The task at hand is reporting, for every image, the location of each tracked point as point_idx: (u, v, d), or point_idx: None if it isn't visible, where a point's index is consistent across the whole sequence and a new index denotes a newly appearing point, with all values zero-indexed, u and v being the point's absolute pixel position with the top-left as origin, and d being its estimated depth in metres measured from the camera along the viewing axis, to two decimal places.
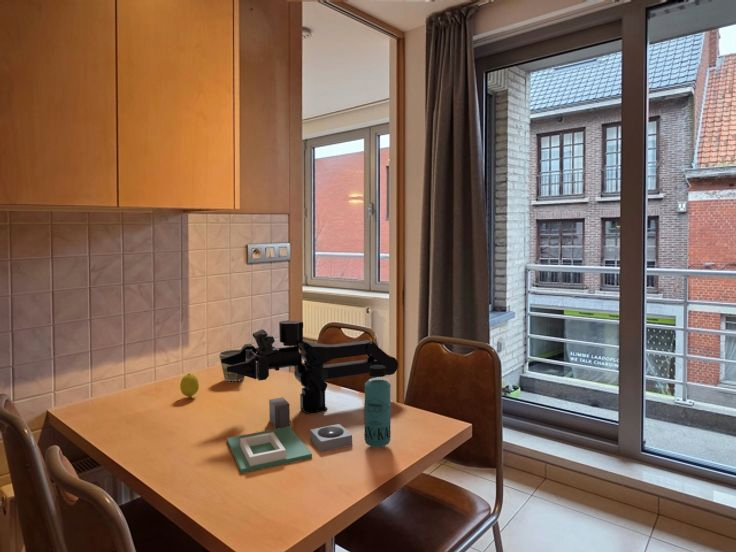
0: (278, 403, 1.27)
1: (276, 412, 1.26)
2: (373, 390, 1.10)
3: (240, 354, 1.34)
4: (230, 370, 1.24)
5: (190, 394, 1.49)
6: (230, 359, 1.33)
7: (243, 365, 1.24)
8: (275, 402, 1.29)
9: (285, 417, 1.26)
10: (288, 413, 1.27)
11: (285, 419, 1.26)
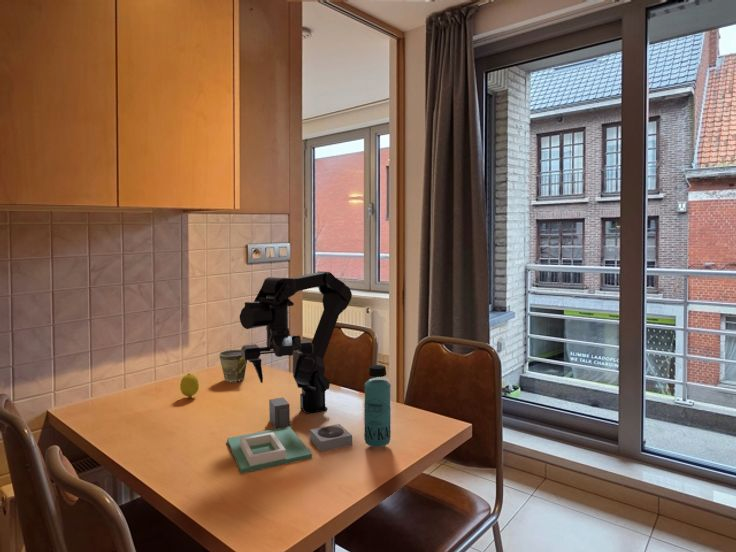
0: (278, 403, 1.27)
1: (276, 412, 1.26)
2: (373, 390, 1.10)
3: (260, 363, 1.25)
4: None
5: (190, 394, 1.49)
6: None
7: None
8: (275, 402, 1.29)
9: (285, 417, 1.26)
10: (288, 413, 1.27)
11: (285, 419, 1.26)
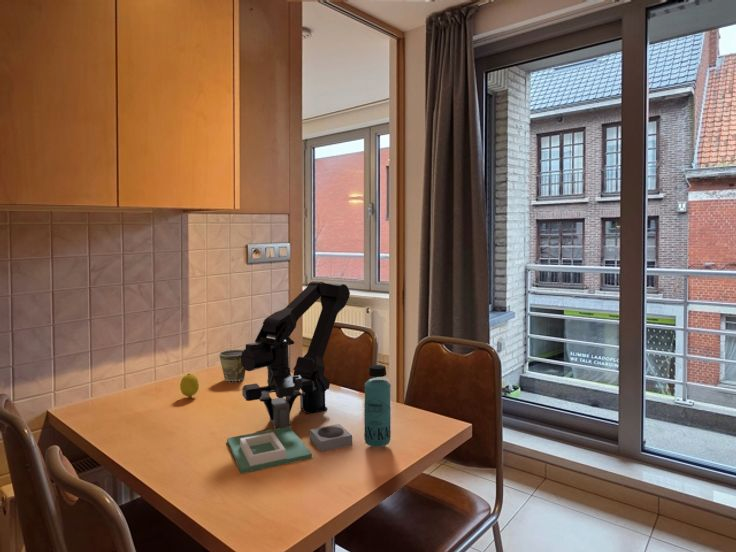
0: (278, 403, 1.27)
1: (276, 412, 1.26)
2: (373, 390, 1.10)
3: None
4: None
5: (190, 394, 1.49)
6: None
7: None
8: (275, 402, 1.29)
9: (285, 417, 1.26)
10: (288, 413, 1.27)
11: (285, 419, 1.26)
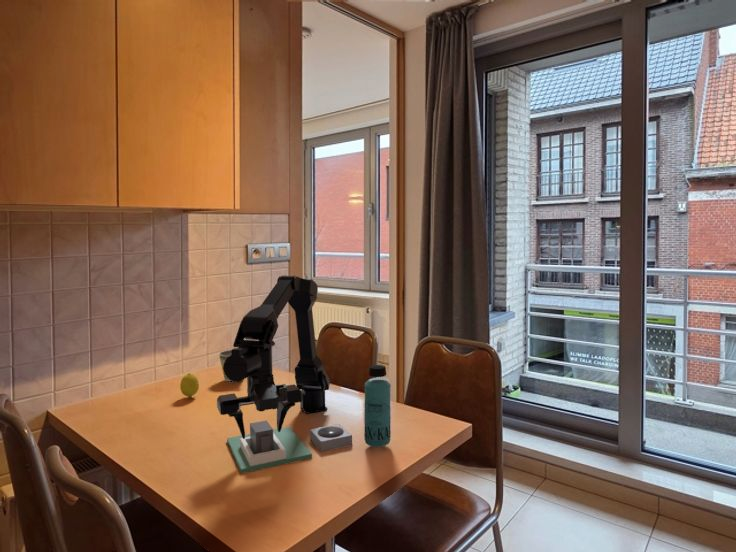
0: (259, 429, 1.08)
1: (257, 439, 1.06)
2: (373, 390, 1.10)
3: None
4: None
5: (190, 394, 1.49)
6: None
7: None
8: (257, 426, 1.09)
9: (268, 445, 1.06)
10: (272, 440, 1.08)
11: (268, 448, 1.06)
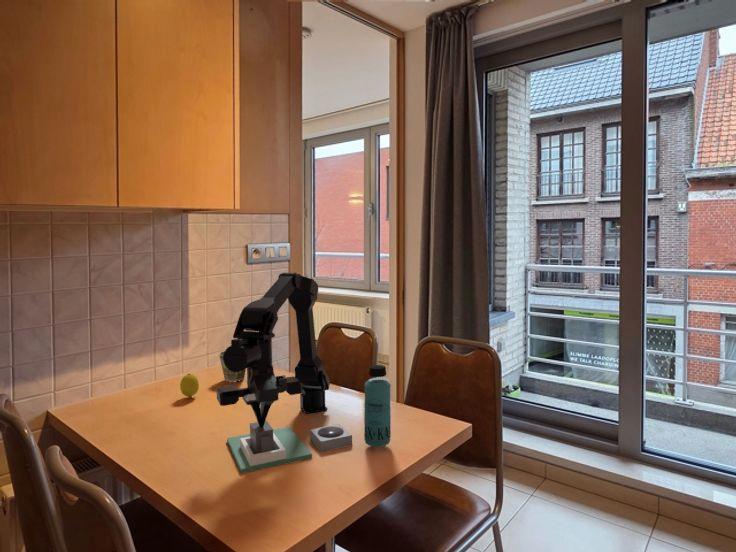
0: (259, 429, 1.08)
1: (257, 439, 1.06)
2: (373, 390, 1.10)
3: (259, 405, 1.08)
4: None
5: (190, 394, 1.49)
6: None
7: None
8: (257, 426, 1.09)
9: (268, 445, 1.06)
10: (272, 440, 1.08)
11: (268, 448, 1.06)
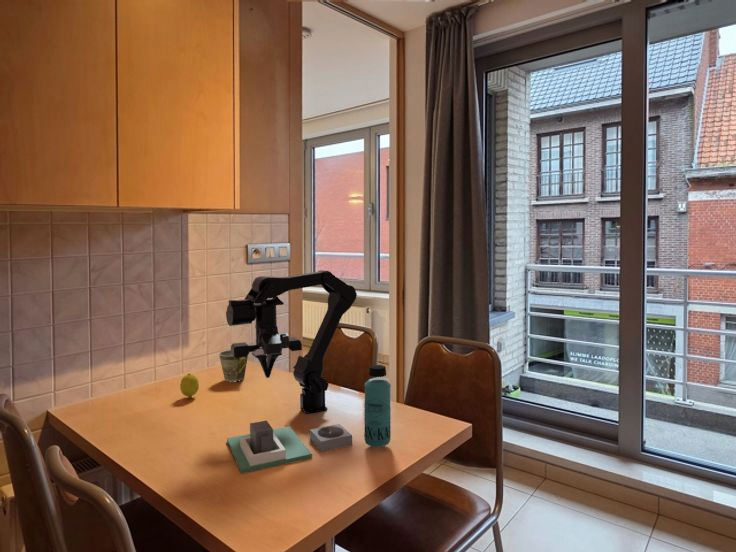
0: (259, 429, 1.08)
1: (257, 439, 1.06)
2: (373, 390, 1.10)
3: None
4: None
5: (190, 394, 1.49)
6: None
7: None
8: (257, 426, 1.09)
9: (268, 445, 1.06)
10: (272, 440, 1.08)
11: (268, 448, 1.06)
